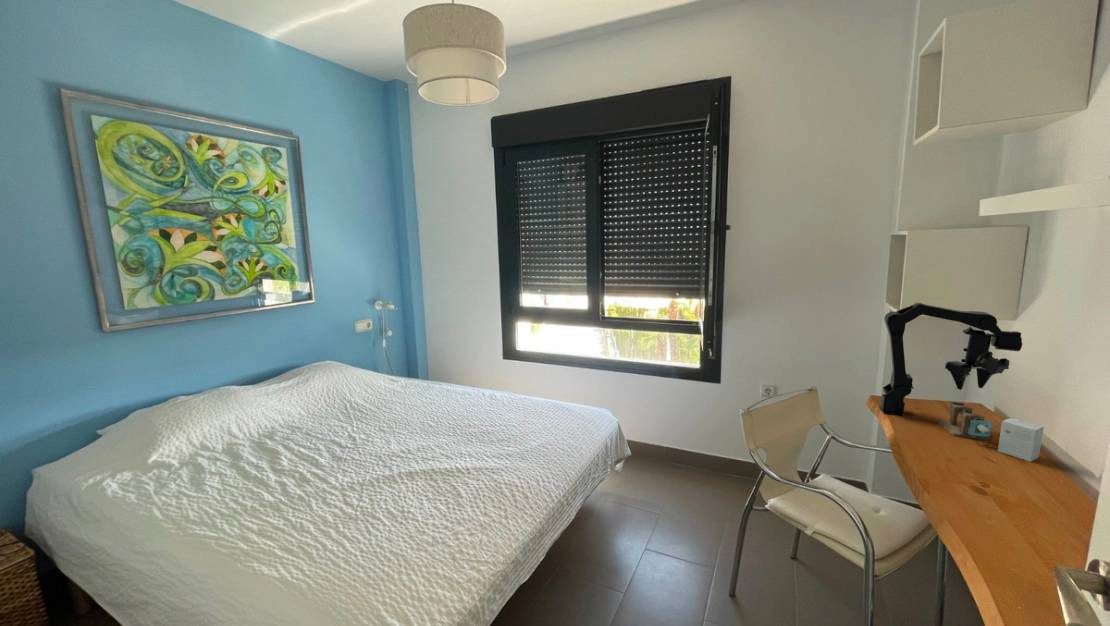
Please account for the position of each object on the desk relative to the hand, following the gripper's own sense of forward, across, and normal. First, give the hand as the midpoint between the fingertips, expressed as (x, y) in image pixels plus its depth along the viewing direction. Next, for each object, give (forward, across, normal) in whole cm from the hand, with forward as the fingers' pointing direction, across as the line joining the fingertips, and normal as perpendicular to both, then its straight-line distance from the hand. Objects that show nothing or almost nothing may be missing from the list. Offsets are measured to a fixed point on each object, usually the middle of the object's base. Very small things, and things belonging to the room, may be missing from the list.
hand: (970, 388), depth 163 cm
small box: (+13, -9, -23) cm, 28 cm away
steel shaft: (+9, -9, -8) cm, 15 cm away
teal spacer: (+10, -13, -14) cm, 22 cm away
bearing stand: (+13, -7, -5) cm, 16 cm away
